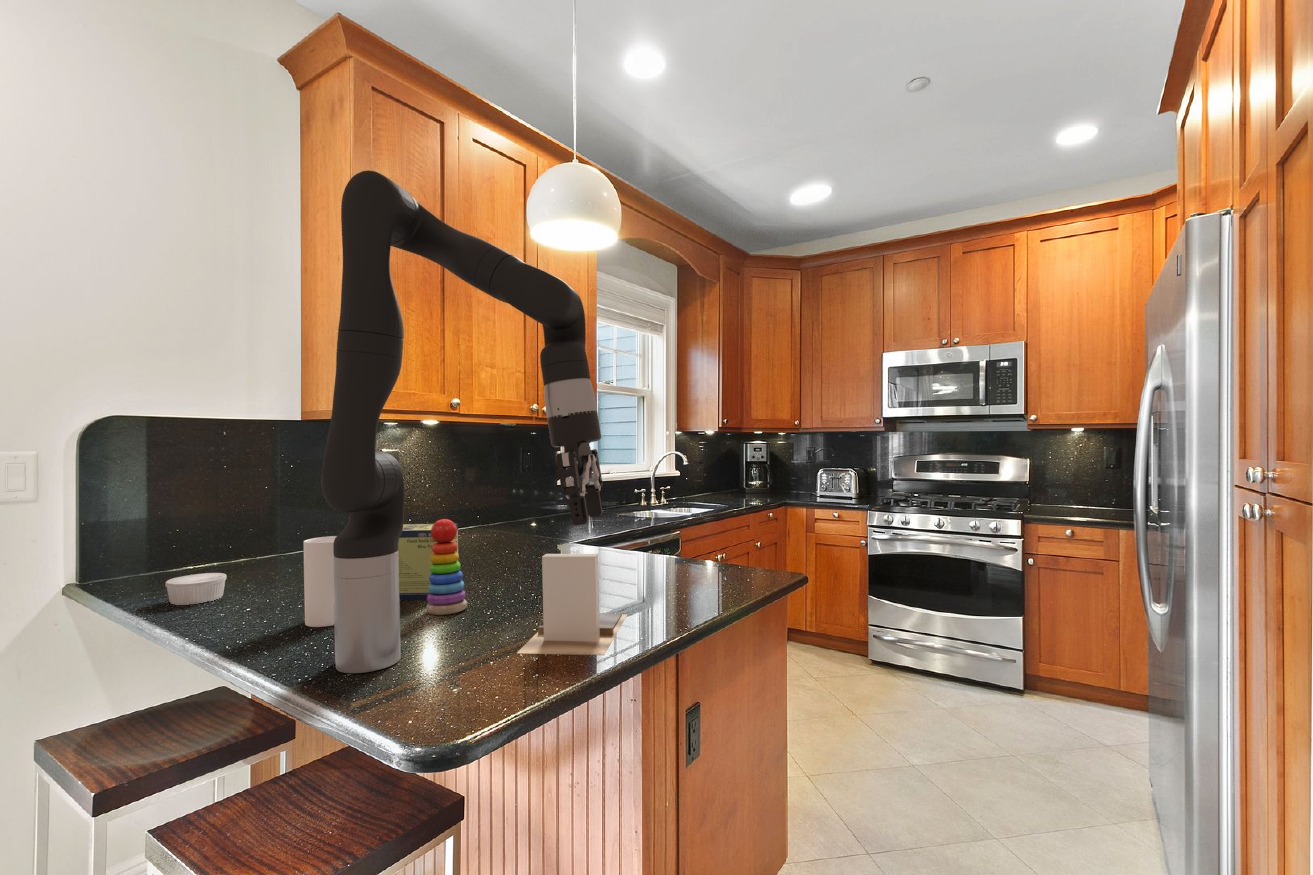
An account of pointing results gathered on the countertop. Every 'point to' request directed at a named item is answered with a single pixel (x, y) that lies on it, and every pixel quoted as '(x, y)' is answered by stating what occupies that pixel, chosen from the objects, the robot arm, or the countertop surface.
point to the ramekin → (196, 588)
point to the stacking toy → (445, 572)
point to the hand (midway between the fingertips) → (588, 520)
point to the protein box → (416, 560)
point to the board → (607, 633)
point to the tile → (571, 597)
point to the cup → (319, 581)
